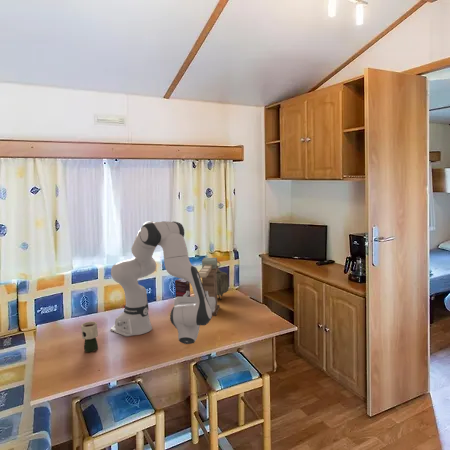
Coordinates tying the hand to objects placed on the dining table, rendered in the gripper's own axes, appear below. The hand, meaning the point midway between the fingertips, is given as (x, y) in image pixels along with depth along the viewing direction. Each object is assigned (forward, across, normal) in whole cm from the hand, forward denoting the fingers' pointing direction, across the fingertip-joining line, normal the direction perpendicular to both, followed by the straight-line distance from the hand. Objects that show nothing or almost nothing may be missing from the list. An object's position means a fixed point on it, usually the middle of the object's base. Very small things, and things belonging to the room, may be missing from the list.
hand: (197, 291), depth 190 cm
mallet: (+25, 0, +10) cm, 27 cm away
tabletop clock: (+37, 0, +48) cm, 60 cm away
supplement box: (+27, +20, +42) cm, 53 cm away
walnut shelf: (+16, 0, +35) cm, 39 cm away
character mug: (-30, +48, +9) cm, 57 cm away
